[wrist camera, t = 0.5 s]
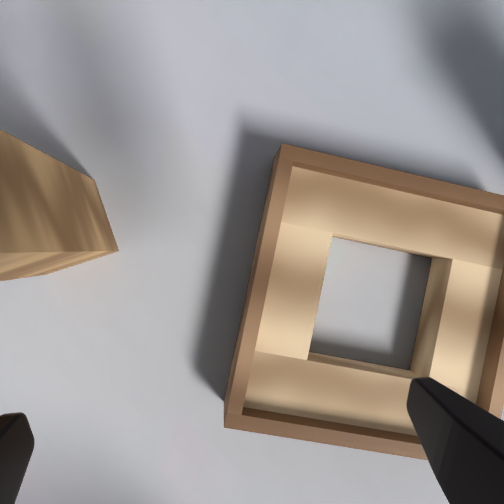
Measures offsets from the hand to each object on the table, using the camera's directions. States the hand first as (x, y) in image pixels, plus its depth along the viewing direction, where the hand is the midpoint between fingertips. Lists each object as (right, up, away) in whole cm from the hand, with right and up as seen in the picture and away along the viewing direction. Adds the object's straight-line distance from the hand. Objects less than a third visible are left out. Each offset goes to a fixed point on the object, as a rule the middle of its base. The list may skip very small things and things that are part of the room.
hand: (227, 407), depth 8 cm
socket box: (+8, 0, +14) cm, 16 cm away
